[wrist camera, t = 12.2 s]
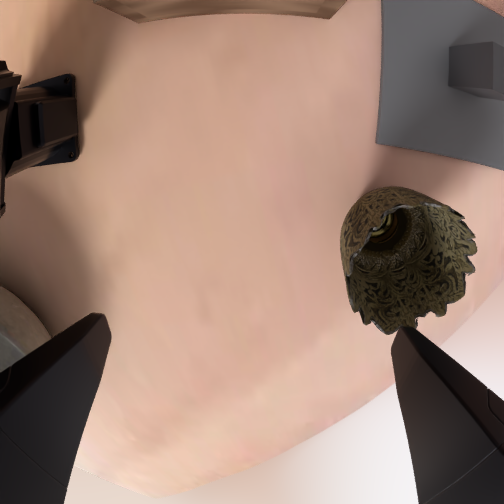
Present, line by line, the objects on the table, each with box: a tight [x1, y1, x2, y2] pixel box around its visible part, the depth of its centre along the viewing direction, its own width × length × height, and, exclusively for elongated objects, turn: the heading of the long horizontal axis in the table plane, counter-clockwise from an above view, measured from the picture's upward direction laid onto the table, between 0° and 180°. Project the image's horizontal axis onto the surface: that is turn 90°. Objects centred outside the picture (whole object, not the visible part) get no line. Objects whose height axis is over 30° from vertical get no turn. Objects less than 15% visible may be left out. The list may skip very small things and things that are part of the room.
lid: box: [375, 0, 504, 171], centre depth 13 cm, size 13×13×6 cm
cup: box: [340, 187, 477, 335], centre depth 17 cm, size 8×7×8 cm
